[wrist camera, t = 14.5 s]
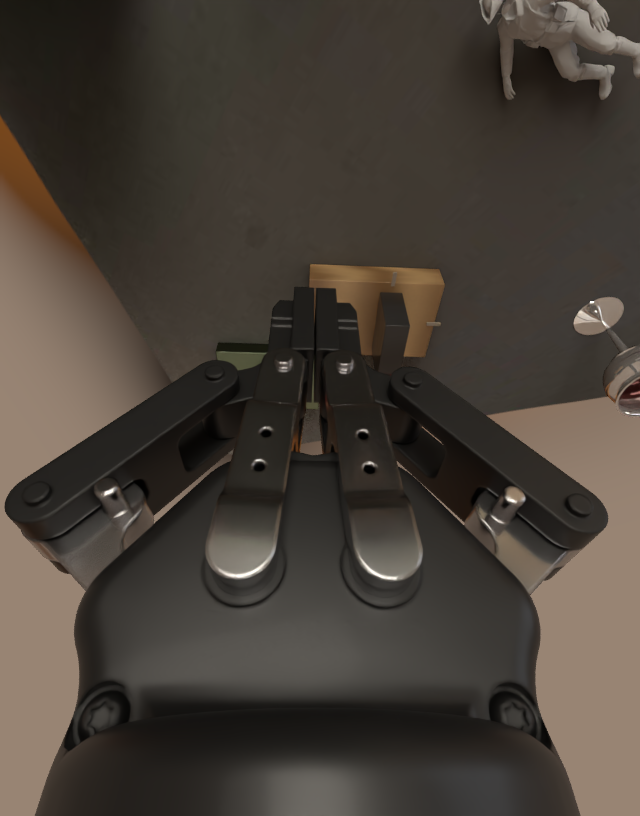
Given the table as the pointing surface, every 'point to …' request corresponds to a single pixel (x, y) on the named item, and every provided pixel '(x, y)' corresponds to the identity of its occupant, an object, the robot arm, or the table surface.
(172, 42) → the table surface
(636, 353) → the wineglass
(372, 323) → the wooden base block
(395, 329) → the dark grey flat block
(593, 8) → the soldier figure
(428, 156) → the table surface
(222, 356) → the button box
